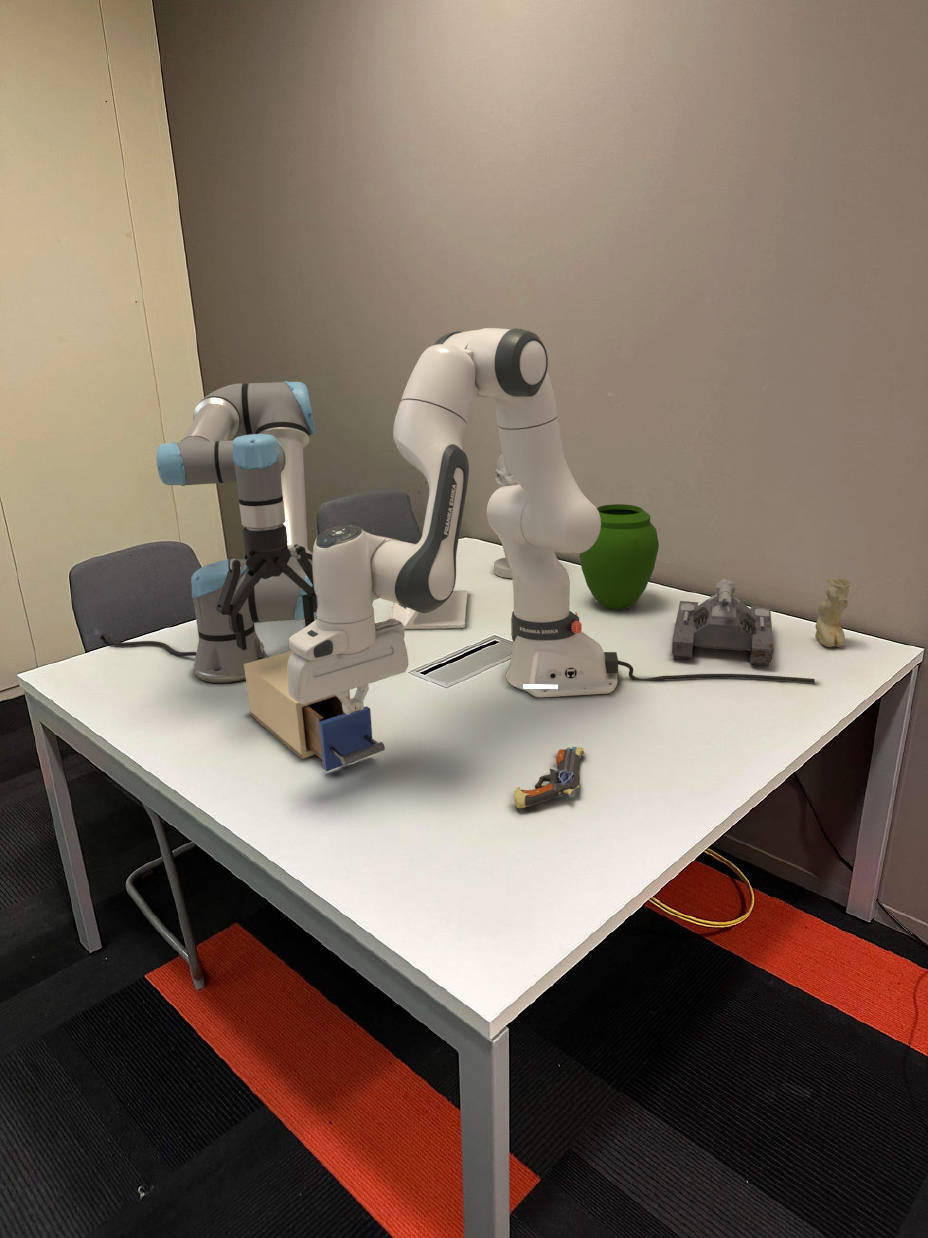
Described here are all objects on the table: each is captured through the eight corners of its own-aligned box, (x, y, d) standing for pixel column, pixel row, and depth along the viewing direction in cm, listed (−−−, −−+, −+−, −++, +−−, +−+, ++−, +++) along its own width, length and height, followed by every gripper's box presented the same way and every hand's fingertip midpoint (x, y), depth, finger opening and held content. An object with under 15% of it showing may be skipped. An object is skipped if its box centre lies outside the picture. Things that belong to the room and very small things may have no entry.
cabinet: (354, 740, 152) (349, 686, 148) (301, 759, 147) (295, 703, 143) (299, 699, 168) (293, 650, 165) (250, 715, 163) (243, 664, 159)
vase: (599, 587, 227) (601, 497, 218) (668, 600, 216) (673, 505, 208) (562, 608, 212) (564, 513, 204) (634, 623, 202) (639, 523, 193)
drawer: (390, 766, 142) (387, 719, 138) (342, 785, 137) (338, 737, 133) (318, 712, 161) (314, 670, 158) (273, 727, 156) (268, 684, 153)
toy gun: (511, 797, 129) (577, 795, 127) (525, 744, 147) (584, 741, 144) (513, 813, 129) (579, 812, 127) (527, 758, 147) (585, 756, 145)
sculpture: (821, 649, 184) (830, 583, 179) (808, 637, 191) (816, 573, 185) (848, 649, 184) (858, 582, 179) (834, 636, 191) (843, 572, 185)
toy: (678, 620, 203) (682, 559, 197) (767, 627, 197) (774, 565, 192) (670, 662, 180) (675, 595, 175) (771, 671, 174) (778, 602, 169)
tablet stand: (467, 593, 225) (465, 531, 219) (465, 628, 202) (462, 559, 196) (399, 594, 226) (395, 532, 220) (388, 629, 203) (384, 560, 197)
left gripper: (317, 510, 159) (327, 617, 166) (186, 534, 145) (203, 649, 152) (337, 517, 153) (346, 627, 160) (202, 542, 139) (219, 662, 147)
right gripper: (392, 610, 141) (397, 686, 146) (278, 641, 129) (287, 722, 134) (413, 621, 136) (417, 699, 141) (297, 653, 125) (306, 737, 129)
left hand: (277, 638), depth 156 cm, fingers open, 13 cm apart
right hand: (353, 711), depth 137 cm, fingers closed
